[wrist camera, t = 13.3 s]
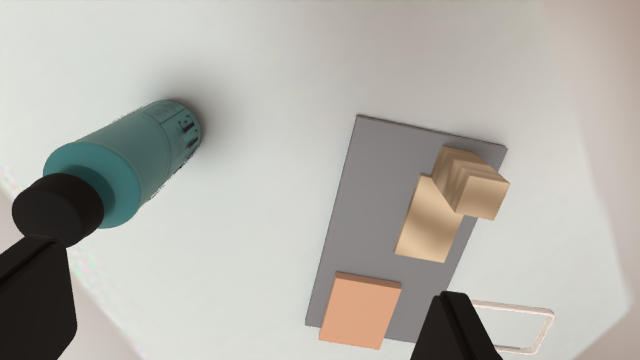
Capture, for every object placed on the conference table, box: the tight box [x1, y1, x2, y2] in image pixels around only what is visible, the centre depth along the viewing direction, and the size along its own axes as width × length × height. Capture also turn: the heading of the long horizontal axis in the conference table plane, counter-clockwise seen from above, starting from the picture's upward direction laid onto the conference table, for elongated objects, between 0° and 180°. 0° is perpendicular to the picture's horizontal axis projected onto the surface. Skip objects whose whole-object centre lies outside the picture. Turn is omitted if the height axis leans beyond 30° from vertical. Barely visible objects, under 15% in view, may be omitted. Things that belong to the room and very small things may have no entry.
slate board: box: [305, 115, 508, 343], centre depth 43 cm, size 28×16×1 cm, turn 169°
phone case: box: [470, 300, 555, 355], centre depth 48 cm, size 7×1×15 cm
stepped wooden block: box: [393, 146, 510, 263], centre depth 37 cm, size 13×6×8 cm, turn 169°
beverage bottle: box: [12, 100, 201, 248], centre depth 29 cm, size 6×7×20 cm
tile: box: [319, 272, 402, 350], centre depth 46 cm, size 1×8×10 cm
